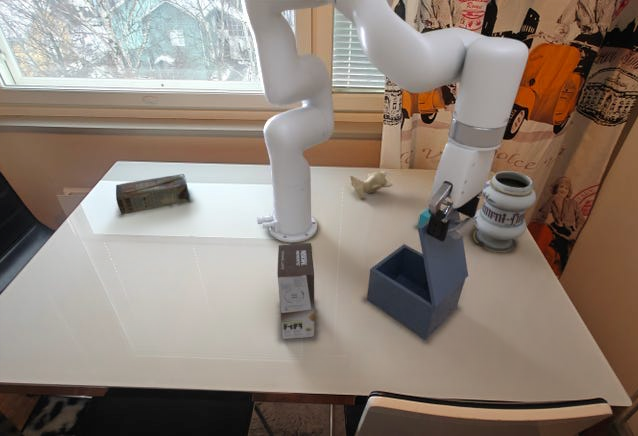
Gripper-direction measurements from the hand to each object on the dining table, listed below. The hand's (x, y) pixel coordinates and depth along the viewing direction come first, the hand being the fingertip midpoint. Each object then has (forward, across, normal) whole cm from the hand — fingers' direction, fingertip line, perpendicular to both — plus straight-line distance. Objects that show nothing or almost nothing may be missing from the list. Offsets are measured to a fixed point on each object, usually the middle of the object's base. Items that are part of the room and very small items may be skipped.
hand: (451, 225), depth 66 cm
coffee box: (+23, +20, -17) cm, 35 cm away
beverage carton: (+24, +21, -79) cm, 85 cm away
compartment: (+22, 0, -4) cm, 23 cm away
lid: (+6, 0, 0) cm, 6 cm away
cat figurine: (+23, -28, -39) cm, 53 cm away
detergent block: (+23, -26, -16) cm, 38 cm away
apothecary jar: (+23, -33, -2) cm, 40 cm away
